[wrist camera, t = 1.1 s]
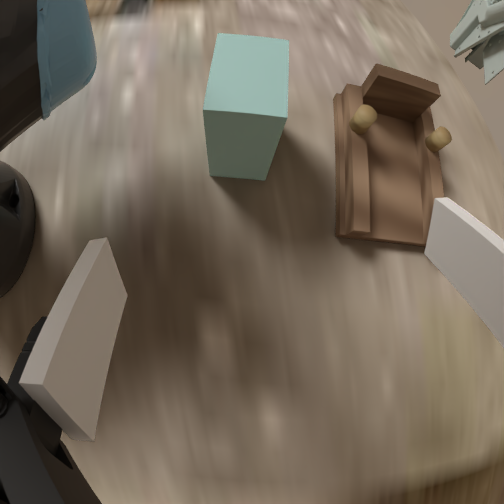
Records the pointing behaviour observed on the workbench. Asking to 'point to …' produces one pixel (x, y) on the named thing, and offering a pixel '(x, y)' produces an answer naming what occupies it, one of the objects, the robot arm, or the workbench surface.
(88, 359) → the robot arm
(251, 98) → the mint green box
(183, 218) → the workbench surface
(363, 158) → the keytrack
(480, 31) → the bracket
